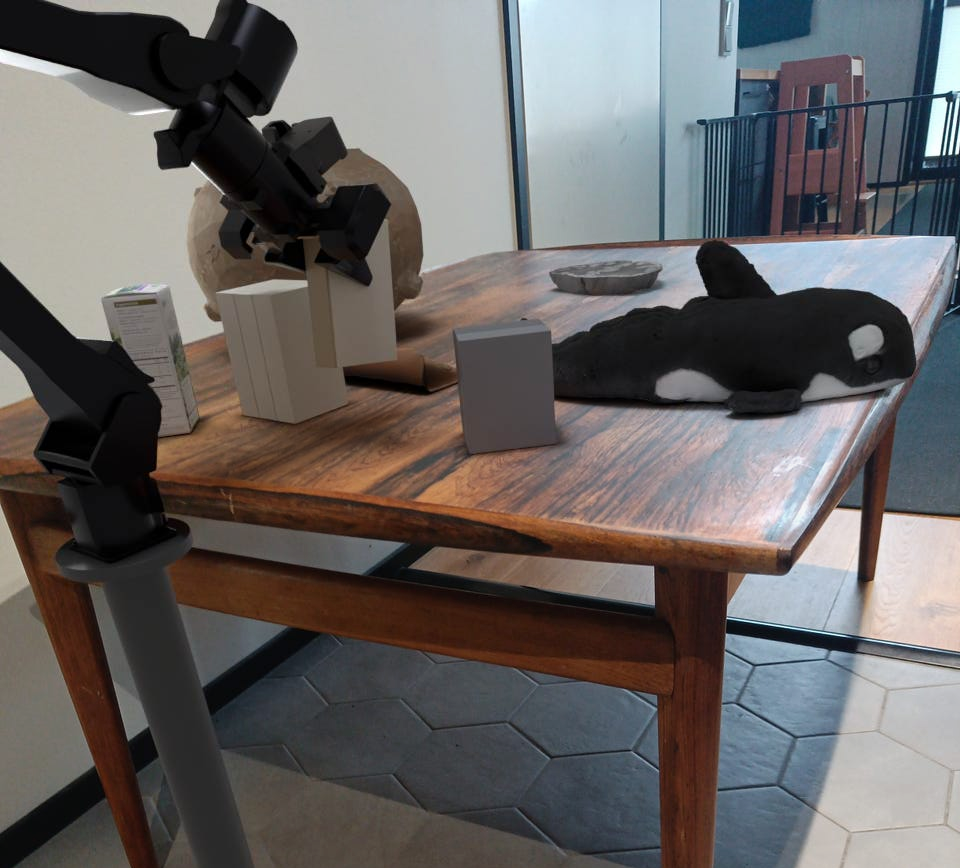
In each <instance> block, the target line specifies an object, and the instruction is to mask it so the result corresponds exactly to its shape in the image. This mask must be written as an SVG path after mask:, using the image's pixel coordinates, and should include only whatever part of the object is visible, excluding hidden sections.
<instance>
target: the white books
mask: <svg viewBox="0 0 960 868" xmlns="http://www.w3.org/2000/svg"><path fill="white" fill-rule="evenodd" d="M216 298H217V302H218V307H219V311H220V316H221V320H222V321H221V325H222V329H223V334H224V337H225V343H226V346H227V352H228V355H229V360H230V364H231V368H232V374H233V379H234V383H235V387H236V391H237V395H238V401H239V406H240V410H241V414H242V416H245V417H252V418H257V419H263V420H269V421H276V422H282V423H287V424H293V425H296V424H299V423H302V422H304V421H308V420H311V419H312V418H315V417H317V416H320V415H323V414H326V413H328V412H331V411H334V410H336V409H339V408H343V407H345V406H347V405H349V399H348V392H347V386H346V380H345V375H344V373H343V367H338V368H324V367H316V360H315V351H314V341H313V332H312V322H311V313H310V303H309V294H308V284H307V280H269V281H265V282H260V283H256V284H252V285H247V286H243V287H238V288H234V289H230V290H225V291H221V292H216Z"/></svg>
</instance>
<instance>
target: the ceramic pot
mask: <svg viewBox="0 0 960 868" xmlns="http://www.w3.org/2000/svg"><path fill="white" fill-rule="evenodd" d="M346 149H347V151H348V155H347V156H346V157H345V158H344V159H343V160H341V159H340V160H339V161H338V162H337V163H335V164H334V165H333V166H332V167H331V168H330V169H329V170H328V171H327V172H326V173H324V174H323V175H322V177H323V178H324V179H325V180H326V181H327V185H326V187H325V189H324V191H323V193H322V194H318V196H317V200H318V201H319V202H323V201H324V200H325V199H326V198H327V197H329V196H331V195H335V193H336V191H337V189H338V186H344V185H354V184H371V183H377V184H378V186H379V187H380V188H381V189H382V190H383V191H384V193H385V194H386V195H387V196H388V197H389V199H390V201H391V206H390V208H389V210H388V212H387V215H386V217H385V219H384V220H388V233H389V247H390V261H391V275H392V289H393V303H394V312H395V311H396V310H397V309H398V308H399V307H400V306H401V305H402V304H403V303H404V302H405V300H414V299H416V298H417V297H418V296H419V295H420V293H421V291H422V288H423V284H424V281H423V278H422V277H421V276H419V275H420V272H421V270H422V264H423V259H424V242H423V229H422V227H423V226H422V221H421V218H420V214H419V210H418V207H417V205H416V202H415V200H414V197H413V195H412V193H411V191H410V190H409V187H408V186H407V185H406V184H405V183H404V182H403V181H402V180H401V179H400V178H399V177H398V176H397V175H396V174H395V173H394V172H393V171H392V170H391V169H390V168H388V166H386V165H385V164H383V163H382V162H380V161H379V160H377V159H375V158H374V157H372V156H371V155H370V154H367V153H365V152H364V151H363V150H362V149H361V148H360V147H356V148H346ZM222 196H223V193H222V192H221V191H220V190H219V189H218V188H217V187H216V186H215V185H214V184H213V183H212V182H211V181H210V180H209V179H207V181H206V182H205V183H204V184H203V185H202V186H200V187H196V188H195V189H194V192H193V198H194V201H193V203H192V207H191V209H190V213H189V216H188V219H187V223H186V238H185V239H186V240H185V243H186V250H187V255H188V261H189V266H190V268H191V272H192V274H193V277H194V278H195V280H196V283H197V284H198V286H199V288H200V290H201V291H202V293H203V296H204V297H205V298H206V303H205V304H204V305H203V307H202V308H203V310H204V312H205V313H206V316H207V317H208V319H209V320H210V321H212V322H214V323H219V322H221V323H222V320H221V316H220V311H219V307H218V302H217V298H216V292H221V291H225V290H230V289H234V288H238V287H243V286H247V285H252V284H256V283H260V282H265V281H269V280H307V275H306V274H304V273H301V272H298V271H294V270H291V269H288V268H284V267H281V266H278V265H274V264H268V263H266V262H265V261H264V257H265V254H266V251H265V250H264V249H262V248H261V247H260V246H255V245H253V244H252V240H253V238H254V233H255V232H251V233H250V235H249V237H248V240H247V242H246V243H247V244H249V245H250V246H251V247H252V248H253V250H254V256H253V258H252V260H242V259H234V258H233V257H232V256H231V255H230V254H229V253H228V252H226V251H225V250H224V249H223V248H222V247H221V243H220V239H219V234H218V231H219V229H220V227H221V225H222V223H223V221H224V219H225V217H226V215H227V213H228V210H227V209H226V208H225V207H224V206H223V205H222V204H220V203H219V202H220V200H221V198H222Z"/></svg>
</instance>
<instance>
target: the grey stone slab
mask: <svg viewBox="0 0 960 868" xmlns="http://www.w3.org/2000/svg"><path fill="white" fill-rule="evenodd" d="M663 270H664V268H663V265H662V263H659V261H653V260H637V261H632V260H612V261H600V262H594V263H584V264H579V265H578V264H577V265H573V266H571V265H570V266H566V267H561V268H557V269H554V270H551V271H549V272H548V275H549V278H550V279H551V281H552V283H553V284H554V285H556V286H557V288H558V289H559V290H561V291H562V292H564V293H565V292H566V293H572V294H579V295H591V296H601V295H603V296H604V295H605V296H606V295H608V296H611V295H616V296H617V295H629V294H634V293H636V292H638V291H643V290H649V289H651V288H652V286H653V285H654V284H655V282H656V280H657V279H658V277H659V273H661V272H662V271H663Z"/></svg>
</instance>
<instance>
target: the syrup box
mask: <svg viewBox="0 0 960 868" xmlns="http://www.w3.org/2000/svg"><path fill="white" fill-rule="evenodd" d="M170 287H171V286H170V285H168V284H160V283H159V284H156V283H149V284H148V283H147V284H134V285H128V286H124V287H119V288H116V289H113V290H112V291H110V292H109V293H107V294H105V295H104V296H102V297H101V298H100V299H101V300H100V301H101V304H102V309H103V312H104V316H105V320H106V323H107V328H108V331H109V335H110V339H111V341H116V342H118V343H119V344H120V345H121V346H122V347H123V348H124V349H125V350H126V352H127V353H128V355H129V356H130V358H131V359H132V361H133V362H134V363H135V365H136V366H137V367H138V368H139V369H140V370H141V371H143V372H144V373H145V374H147V375H149V376H151V377H153V378H154V379H155V381H154V382H153V383H149V384H148V385H150V386H151V387H152V388H153V389H154V391H155V392H156V394H157V395H158V396H159V398H160V401H161V403H162V409H161V416H162V421H161V426H160V431H159V433H158V438H160V437H161V438H162V437H168V436H176V435H182V434H183V435H184V434H191V432H193V430H194V428H195V427H196V425H197V424H198V421H199V420H200V418H201V417H200V412H199V408H198V403H197V399H196V396H195V395H196V394H195V391H194V387H193V386H194V385H193V382H192V378H191V374H190V369H189V364H188V360H187V357H186V356H187V355H186V352H185V348H184V344H183V339H182V335H181V331H180V326H179V322H178V318H177V313H176V309H175V305H174V300H173V296H172V292H171V288H170Z"/></svg>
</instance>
